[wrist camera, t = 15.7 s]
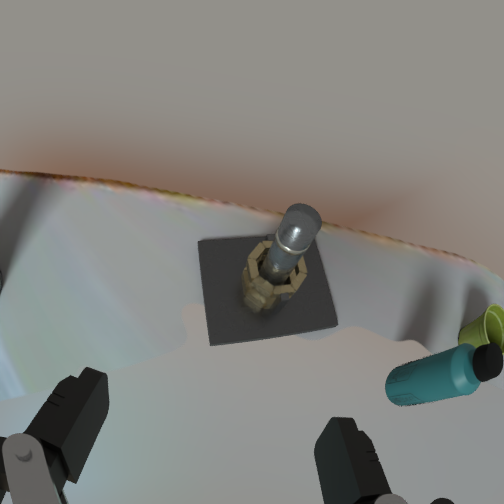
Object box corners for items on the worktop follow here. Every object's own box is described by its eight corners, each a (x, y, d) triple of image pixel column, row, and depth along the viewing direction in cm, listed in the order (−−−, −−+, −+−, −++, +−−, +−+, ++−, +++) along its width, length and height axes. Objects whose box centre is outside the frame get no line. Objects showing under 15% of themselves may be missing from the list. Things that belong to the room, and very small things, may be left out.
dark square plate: (210, 346, 38) (212, 334, 32) (197, 245, 44) (198, 218, 38) (334, 327, 42) (357, 312, 36) (310, 237, 49) (326, 213, 42)
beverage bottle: (387, 415, 36) (492, 402, 19) (371, 378, 39) (472, 349, 21) (416, 393, 38) (516, 368, 21) (401, 358, 41) (498, 319, 24)
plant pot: (462, 375, 41) (497, 365, 33) (445, 331, 44) (478, 316, 37) (485, 351, 44) (516, 339, 36) (469, 312, 47) (499, 296, 40)
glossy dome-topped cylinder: (257, 298, 41) (290, 236, 27) (252, 273, 42) (281, 203, 29) (282, 295, 42) (326, 234, 28) (277, 271, 43) (315, 202, 30)
